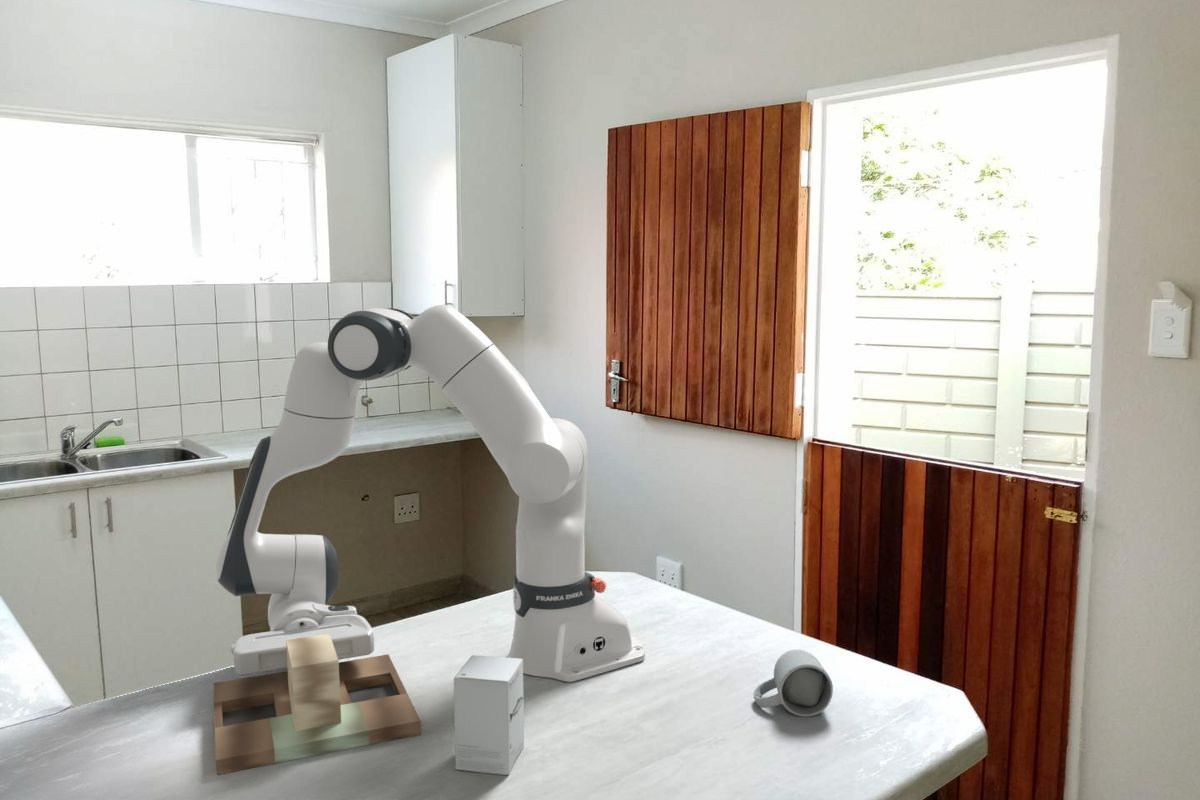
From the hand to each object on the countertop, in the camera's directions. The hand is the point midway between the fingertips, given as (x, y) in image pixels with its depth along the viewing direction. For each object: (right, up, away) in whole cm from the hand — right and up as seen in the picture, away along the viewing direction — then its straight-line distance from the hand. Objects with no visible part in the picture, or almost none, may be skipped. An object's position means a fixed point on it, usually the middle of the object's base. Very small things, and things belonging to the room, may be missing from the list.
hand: (309, 666), depth 133 cm
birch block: (+2, -5, -4) cm, 7 cm away
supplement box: (+28, -8, -13) cm, 32 cm away
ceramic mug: (+70, -6, +2) cm, 70 cm away
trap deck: (+1, -7, -1) cm, 7 cm away
